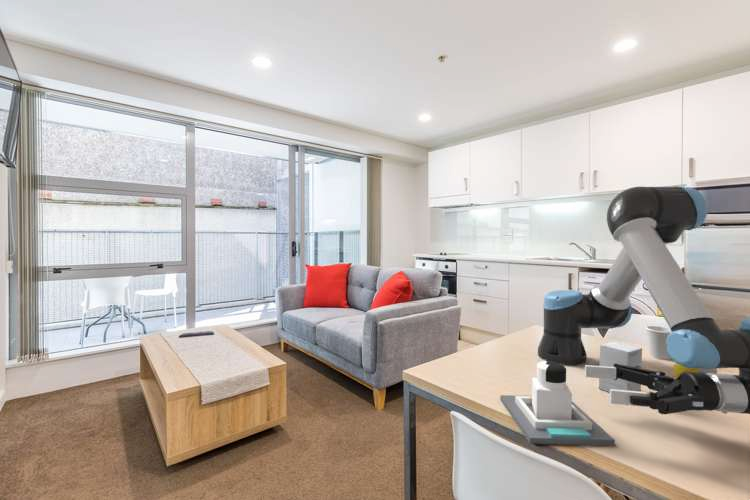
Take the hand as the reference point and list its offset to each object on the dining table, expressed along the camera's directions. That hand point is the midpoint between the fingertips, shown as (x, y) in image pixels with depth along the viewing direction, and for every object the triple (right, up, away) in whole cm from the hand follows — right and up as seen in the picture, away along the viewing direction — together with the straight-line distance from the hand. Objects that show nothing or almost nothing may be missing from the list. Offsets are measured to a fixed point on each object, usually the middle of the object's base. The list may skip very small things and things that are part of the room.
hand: (596, 382), depth 77 cm
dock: (-9, -10, +2) cm, 14 cm away
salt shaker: (+50, -9, +27) cm, 57 cm away
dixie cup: (+51, -8, +44) cm, 67 cm away
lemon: (+39, -9, +20) cm, 45 cm away
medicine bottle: (-9, -9, +2) cm, 13 cm away
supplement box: (+18, -9, +17) cm, 26 cm away
